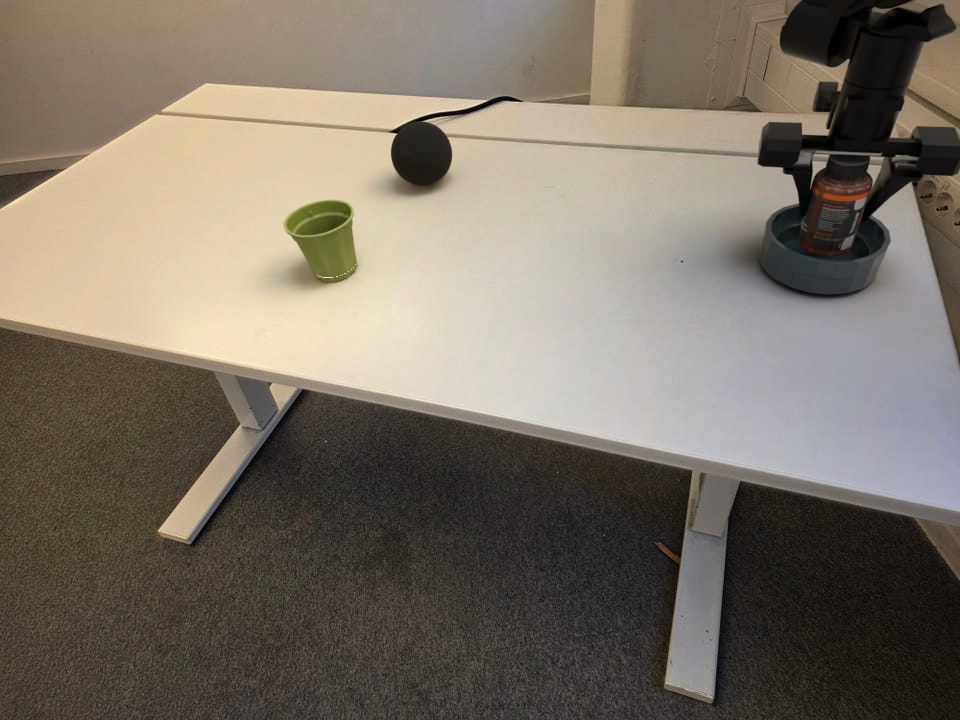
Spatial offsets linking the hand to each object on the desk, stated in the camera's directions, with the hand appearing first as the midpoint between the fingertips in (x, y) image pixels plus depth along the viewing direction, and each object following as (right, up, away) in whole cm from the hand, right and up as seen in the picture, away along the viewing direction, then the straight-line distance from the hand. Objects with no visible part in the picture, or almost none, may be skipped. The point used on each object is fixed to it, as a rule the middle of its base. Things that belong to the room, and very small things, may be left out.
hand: (831, 217), depth 71 cm
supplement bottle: (+1, -3, +3) cm, 4 cm away
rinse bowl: (+1, -5, +5) cm, 7 cm away
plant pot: (-62, -4, +16) cm, 64 cm away
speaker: (-50, +13, +32) cm, 61 cm away
